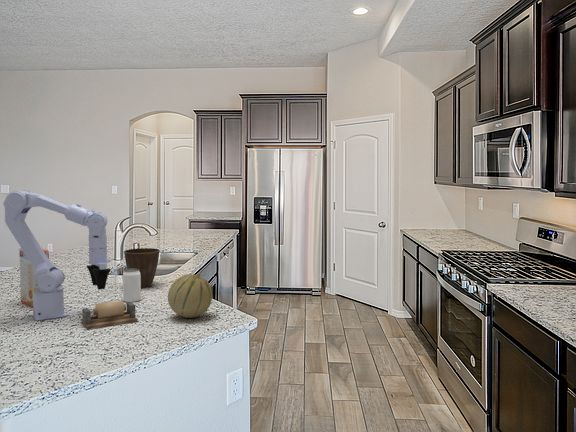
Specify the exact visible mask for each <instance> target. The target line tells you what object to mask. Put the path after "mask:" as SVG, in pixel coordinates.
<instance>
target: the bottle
mask: <svg viewBox="0 0 576 432" xmlns="http://www.w3.org/2000/svg"><path fill="white" fill-rule="evenodd" d="M125 311H126V312H127V305H126V303H125V302H124V300H115V301H108V302H99V303H96V304H95V307H94V308H93V309H92V314H93V315H92V316H96V318H97V319H100V318H106V317H113V316H120V315H124V312H125Z"/></svg>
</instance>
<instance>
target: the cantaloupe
mask: <svg viewBox="0 0 576 432" xmlns="http://www.w3.org/2000/svg"><path fill="white" fill-rule="evenodd" d="M212 291H213V290H212V287H211V285H210V283H209V282H208V280H207V279H206V278H204V277H202V276H201V273H197V274H192V273H191V274H190V273H187V274H183V275H181V276H179V277H178V278H176V279H175V280H174V281H173V282H172V284H171V285H170V286H169V288H168V292H167V302H168V305H169V307H170V309H171V310H172V311H173V312H174V313H175V314H176V315H178V316H180V317H183V318H185V319H193V318H194V319H195V318H198V317H200V316H202V315H204V313H206V312H207V311H208V310H209V308H210V306H211V303H212V301H213V292H212Z"/></svg>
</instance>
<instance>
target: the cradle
mask: <svg viewBox="0 0 576 432" xmlns="http://www.w3.org/2000/svg"><path fill="white" fill-rule="evenodd" d="M125 305H126V311H124V315H120V316H113V317H106V318H100V319H97V318H96V315H92V314H91V310H90V309H89V307H83V308H82V309H81V312H82V318H80V322H81V324H82V325H83V326H84V328H85V329H87V330H93V329H101V328H106V327H113V326H119V325H120V326H121V325H127V324H133V323H138V322H139V319H138V317H137V316H136V304H134V302H125Z"/></svg>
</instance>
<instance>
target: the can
mask: <svg viewBox="0 0 576 432" xmlns="http://www.w3.org/2000/svg"><path fill="white" fill-rule="evenodd" d="M122 286H123V287H122V289H123V290H122V294H123V295H122V297H123V300H122V301H123V302H124V303H128V302H131V303H137V302H140V301H141V299H142V288H141V275H140V272H139V269H127V268H125V269H124V270H123V274H122Z"/></svg>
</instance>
